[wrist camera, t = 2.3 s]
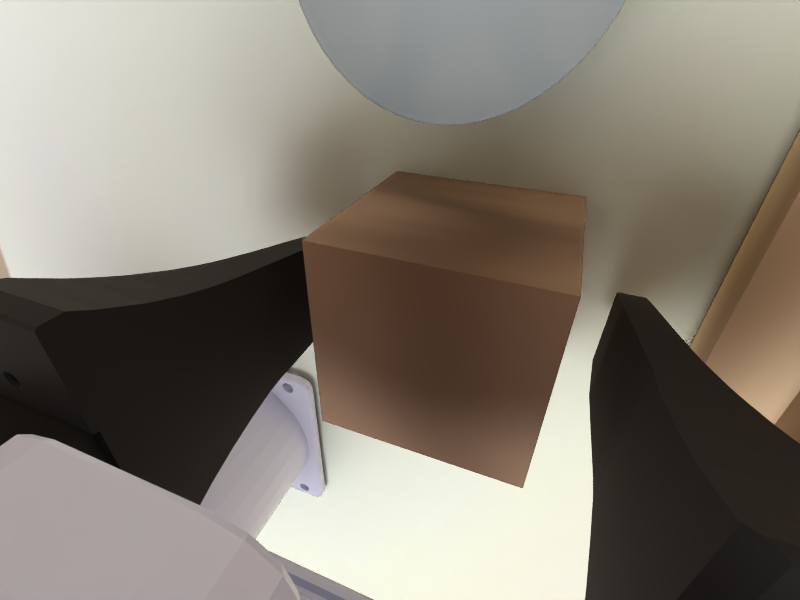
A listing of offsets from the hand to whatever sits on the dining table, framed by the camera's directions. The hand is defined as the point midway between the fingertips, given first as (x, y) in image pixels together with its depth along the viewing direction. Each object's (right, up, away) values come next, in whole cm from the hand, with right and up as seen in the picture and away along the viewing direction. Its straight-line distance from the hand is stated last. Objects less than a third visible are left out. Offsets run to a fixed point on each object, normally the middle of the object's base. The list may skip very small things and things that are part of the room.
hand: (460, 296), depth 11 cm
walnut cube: (+1, +1, +2) cm, 2 cm away
